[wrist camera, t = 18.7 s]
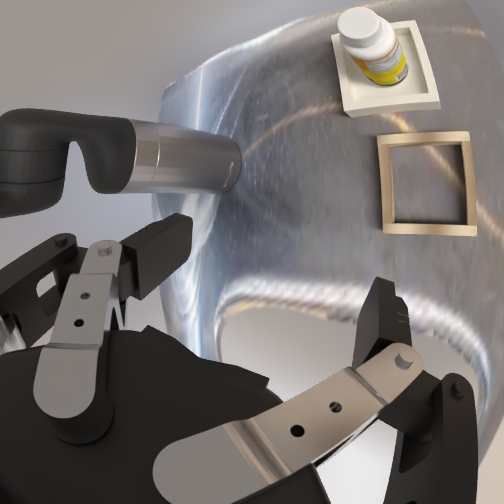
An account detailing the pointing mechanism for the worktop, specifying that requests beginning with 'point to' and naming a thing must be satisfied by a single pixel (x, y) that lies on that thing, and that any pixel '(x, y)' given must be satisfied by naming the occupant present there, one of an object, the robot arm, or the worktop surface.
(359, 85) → the parts tray
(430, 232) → the square wooden frame
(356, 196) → the worktop surface
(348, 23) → the supplement bottle
